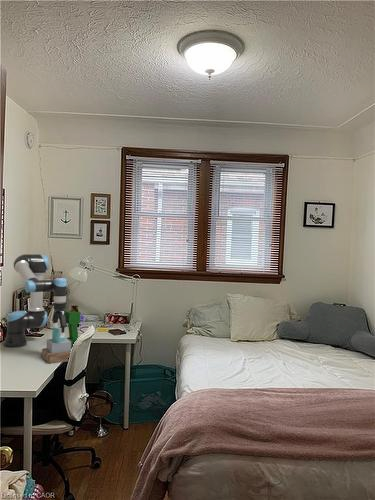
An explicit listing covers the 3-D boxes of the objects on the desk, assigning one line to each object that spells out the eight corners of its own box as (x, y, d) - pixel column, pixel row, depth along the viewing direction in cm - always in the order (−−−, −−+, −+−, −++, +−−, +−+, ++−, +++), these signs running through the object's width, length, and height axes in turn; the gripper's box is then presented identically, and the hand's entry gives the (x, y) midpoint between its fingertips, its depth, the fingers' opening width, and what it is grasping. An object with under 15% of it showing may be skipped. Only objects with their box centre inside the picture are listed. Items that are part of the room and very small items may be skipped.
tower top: (46, 348, 251) (46, 339, 251) (64, 346, 258) (65, 337, 258) (51, 353, 241) (52, 344, 241) (70, 351, 248) (71, 341, 248)
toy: (63, 346, 278) (64, 304, 277) (83, 345, 283) (85, 304, 282) (64, 350, 268) (65, 307, 267) (85, 349, 273) (86, 306, 272)
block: (52, 340, 250) (52, 327, 250) (61, 339, 254) (61, 326, 254) (55, 342, 245) (56, 329, 245) (64, 341, 249) (65, 328, 249)
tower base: (42, 357, 251) (42, 348, 251) (66, 354, 261) (66, 345, 260) (49, 364, 238) (50, 355, 238) (74, 360, 248) (75, 351, 248)
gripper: (47, 299, 256) (46, 331, 257) (60, 305, 236) (59, 340, 237) (59, 299, 261) (57, 330, 261) (72, 305, 241) (71, 338, 241)
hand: (58, 335), depth 249 cm, fingers open, 13 cm apart
